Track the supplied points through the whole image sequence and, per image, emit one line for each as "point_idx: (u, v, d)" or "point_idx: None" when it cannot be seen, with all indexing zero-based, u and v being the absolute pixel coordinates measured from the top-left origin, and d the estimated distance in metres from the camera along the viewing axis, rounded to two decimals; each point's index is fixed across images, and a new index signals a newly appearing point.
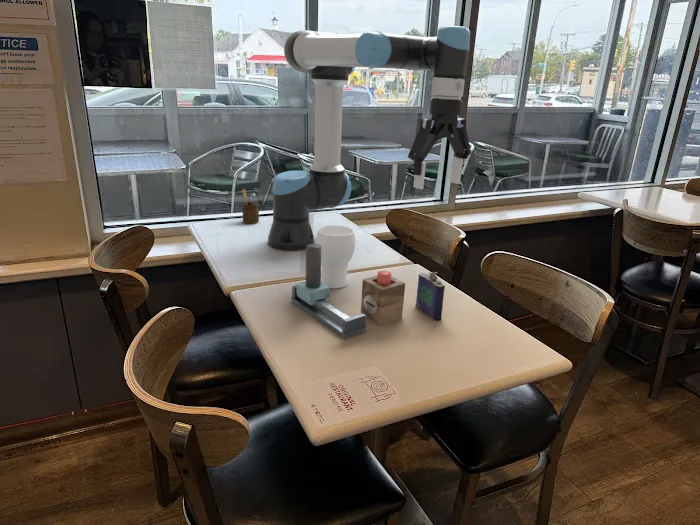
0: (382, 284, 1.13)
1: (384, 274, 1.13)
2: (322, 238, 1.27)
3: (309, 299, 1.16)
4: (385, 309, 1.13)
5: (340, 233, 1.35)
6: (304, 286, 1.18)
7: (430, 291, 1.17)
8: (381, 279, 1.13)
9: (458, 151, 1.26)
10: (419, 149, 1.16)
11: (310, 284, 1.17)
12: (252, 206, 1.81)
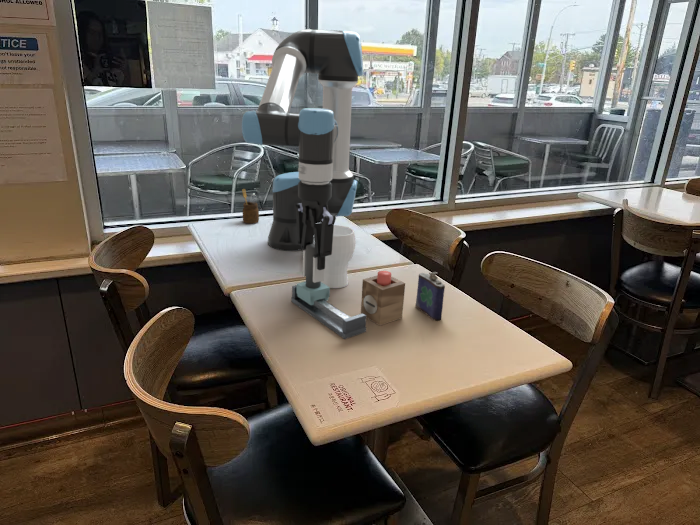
0: (382, 284, 1.13)
1: (384, 274, 1.13)
2: None
3: (309, 299, 1.16)
4: (385, 309, 1.13)
5: (340, 233, 1.35)
6: (304, 286, 1.18)
7: (430, 291, 1.17)
8: (381, 279, 1.13)
9: None
10: (297, 234, 1.18)
11: (310, 284, 1.17)
12: (252, 206, 1.81)
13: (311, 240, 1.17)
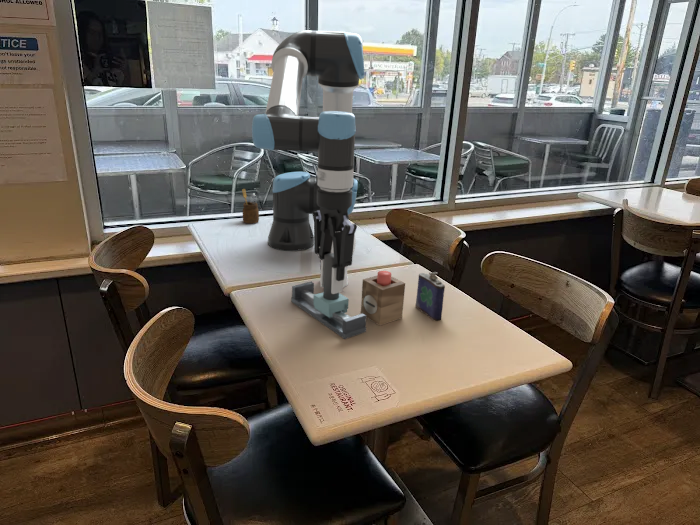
0: (382, 284, 1.13)
1: (384, 274, 1.13)
2: None
3: (327, 311, 1.11)
4: (385, 309, 1.13)
5: None
6: (322, 297, 1.13)
7: (430, 291, 1.17)
8: (381, 279, 1.13)
9: None
10: (315, 243, 1.13)
11: (328, 295, 1.12)
12: (252, 206, 1.81)
13: (329, 249, 1.12)
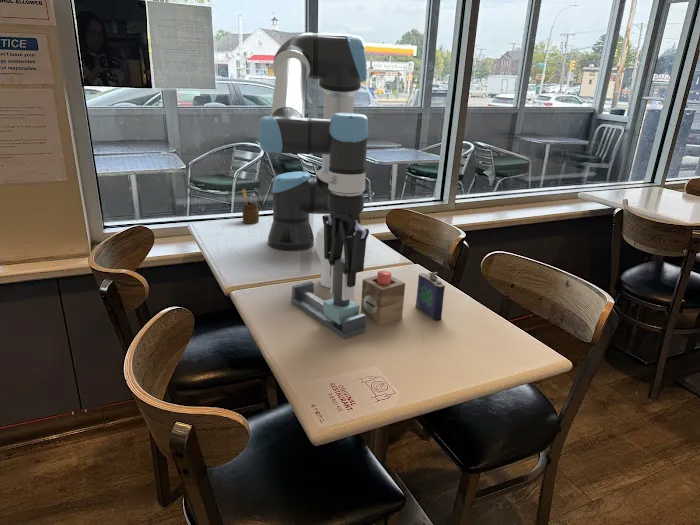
0: (382, 284, 1.13)
1: (384, 274, 1.13)
2: (322, 238, 1.27)
3: (338, 318, 1.08)
4: (385, 309, 1.13)
5: None
6: (332, 304, 1.10)
7: (430, 291, 1.17)
8: (381, 279, 1.13)
9: None
10: (324, 248, 1.10)
11: (339, 302, 1.09)
12: (252, 206, 1.81)
13: (340, 254, 1.09)
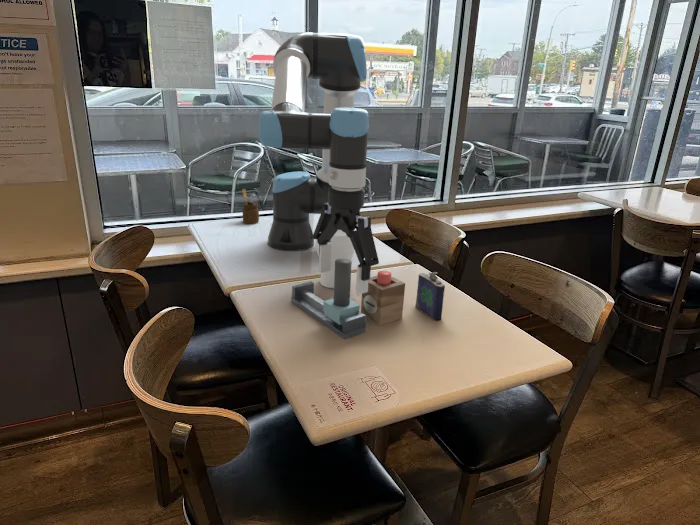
0: (382, 284, 1.13)
1: (384, 274, 1.13)
2: None
3: (338, 318, 1.08)
4: (385, 309, 1.13)
5: (340, 233, 1.35)
6: (332, 304, 1.10)
7: (430, 291, 1.17)
8: (381, 279, 1.13)
9: None
10: (316, 229, 1.11)
11: (339, 302, 1.09)
12: (252, 206, 1.81)
13: (330, 238, 1.11)
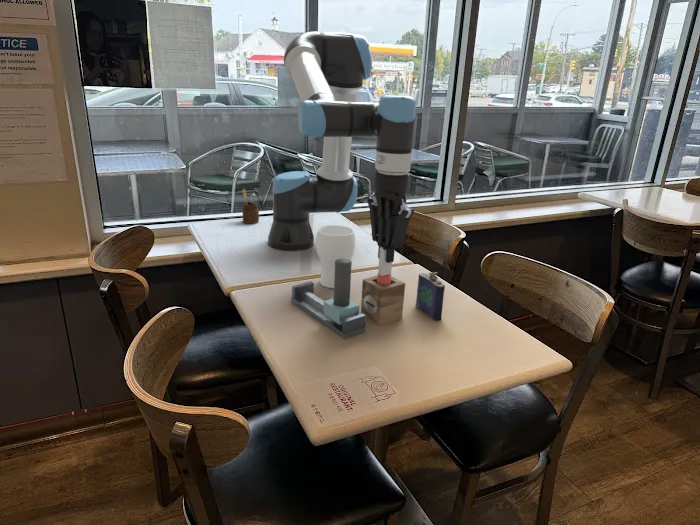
0: (382, 285, 1.14)
1: (384, 275, 1.14)
2: (322, 238, 1.27)
3: (338, 318, 1.08)
4: (385, 309, 1.13)
5: (340, 233, 1.35)
6: (332, 304, 1.10)
7: (430, 291, 1.17)
8: (381, 280, 1.13)
9: None
10: (372, 230, 1.13)
11: (339, 302, 1.09)
12: (252, 206, 1.81)
13: None
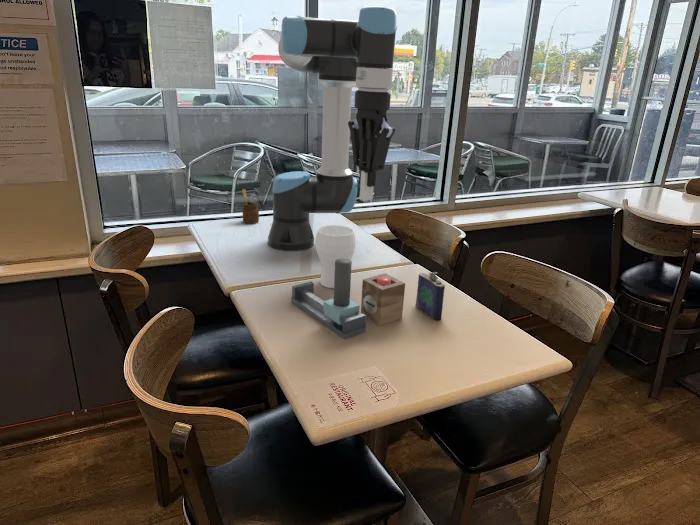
0: None
1: (384, 280, 1.14)
2: (322, 238, 1.27)
3: (338, 318, 1.08)
4: (385, 309, 1.13)
5: (340, 233, 1.35)
6: (332, 304, 1.10)
7: (430, 291, 1.17)
8: None
9: None
10: (353, 154, 1.11)
11: (339, 302, 1.09)
12: (252, 206, 1.81)
13: None
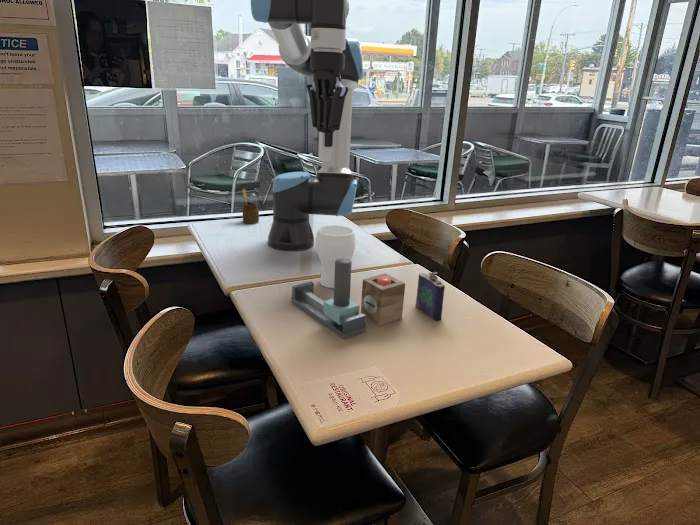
0: None
1: (384, 280, 1.14)
2: (322, 238, 1.27)
3: (338, 318, 1.08)
4: (385, 309, 1.13)
5: (340, 233, 1.35)
6: (332, 304, 1.10)
7: (430, 291, 1.17)
8: None
9: None
10: (312, 116, 1.15)
11: (339, 302, 1.09)
12: (252, 206, 1.81)
13: None
